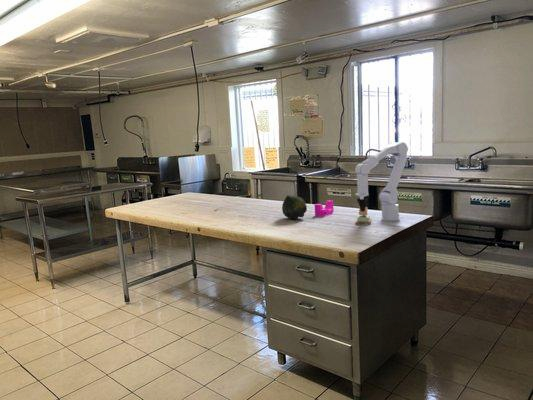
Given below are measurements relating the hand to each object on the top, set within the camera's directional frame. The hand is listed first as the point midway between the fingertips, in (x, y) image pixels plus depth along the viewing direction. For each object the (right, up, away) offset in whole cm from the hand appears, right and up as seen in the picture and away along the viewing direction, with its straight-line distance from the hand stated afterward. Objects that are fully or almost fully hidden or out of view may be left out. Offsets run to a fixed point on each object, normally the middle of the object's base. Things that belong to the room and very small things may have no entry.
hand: (363, 209), depth 233 cm
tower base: (0, -8, +1) cm, 8 cm away
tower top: (0, -6, +1) cm, 6 cm away
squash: (-37, -6, +23) cm, 44 cm away
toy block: (-16, -4, +31) cm, 35 cm away
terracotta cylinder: (0, -3, 0) cm, 3 cm away
